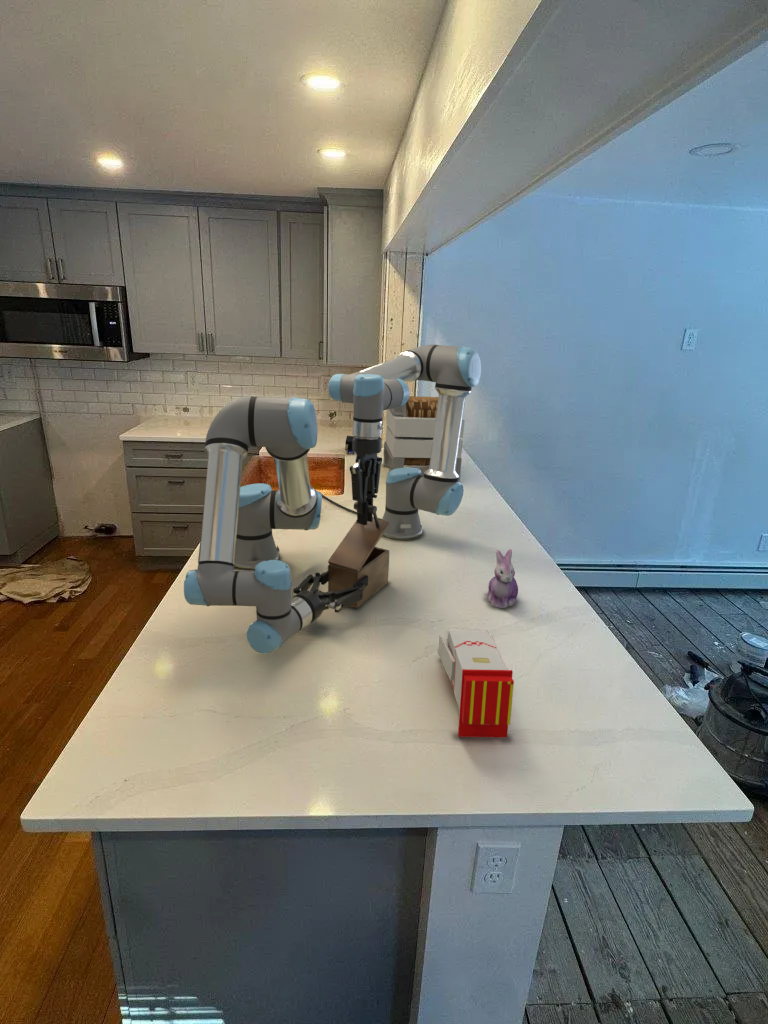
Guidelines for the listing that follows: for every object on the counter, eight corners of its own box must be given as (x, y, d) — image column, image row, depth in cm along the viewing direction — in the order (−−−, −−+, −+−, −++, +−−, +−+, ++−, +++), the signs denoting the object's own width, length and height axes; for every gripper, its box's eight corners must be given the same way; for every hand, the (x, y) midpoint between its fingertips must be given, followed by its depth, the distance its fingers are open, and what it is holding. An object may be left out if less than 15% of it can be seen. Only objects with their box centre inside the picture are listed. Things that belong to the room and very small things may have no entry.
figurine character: (357, 457, 303) (357, 447, 317) (357, 444, 300) (358, 434, 313) (344, 457, 303) (345, 447, 317) (344, 443, 300) (345, 434, 313)
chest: (360, 574, 168) (361, 543, 164) (388, 582, 164) (389, 550, 160) (327, 599, 153) (328, 564, 150) (356, 608, 149) (357, 573, 146)
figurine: (500, 612, 150) (506, 561, 145) (477, 595, 159) (482, 546, 153) (527, 605, 154) (535, 555, 149) (504, 589, 163) (510, 541, 158)
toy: (488, 613, 130) (523, 677, 101) (484, 667, 133) (517, 744, 104) (435, 612, 130) (455, 676, 101) (432, 666, 133) (451, 743, 103)
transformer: (382, 463, 289) (386, 382, 275) (445, 464, 293) (451, 384, 279) (390, 482, 257) (394, 392, 243) (460, 483, 261) (468, 394, 247)
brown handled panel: (361, 517, 161) (354, 495, 155) (389, 524, 157) (384, 501, 151) (328, 564, 150) (320, 542, 144) (358, 572, 146) (351, 550, 140)
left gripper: (264, 612, 140) (317, 577, 159) (339, 638, 130) (386, 598, 149) (264, 584, 137) (317, 553, 156) (340, 609, 128) (387, 572, 146)
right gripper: (364, 444, 137) (362, 534, 145) (394, 433, 150) (390, 516, 158) (338, 439, 140) (337, 527, 149) (369, 429, 153) (366, 511, 161)
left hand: (351, 575), depth 152 cm, fingers closed on chest, 9 cm apart
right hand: (364, 521), depth 153 cm, fingers closed on brown handled panel, 2 cm apart
